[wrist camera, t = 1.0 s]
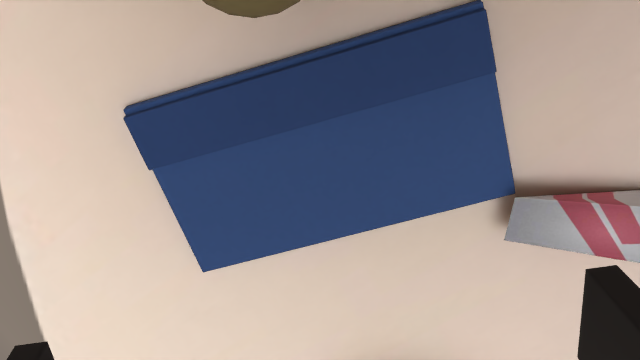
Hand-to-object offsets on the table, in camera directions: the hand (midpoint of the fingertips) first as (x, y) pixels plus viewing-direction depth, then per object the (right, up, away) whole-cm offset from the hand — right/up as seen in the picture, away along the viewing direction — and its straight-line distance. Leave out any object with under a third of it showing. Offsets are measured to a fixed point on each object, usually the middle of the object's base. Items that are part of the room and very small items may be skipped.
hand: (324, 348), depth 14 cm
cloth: (0, +6, +18) cm, 19 cm away
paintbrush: (+20, +2, +20) cm, 29 cm away
